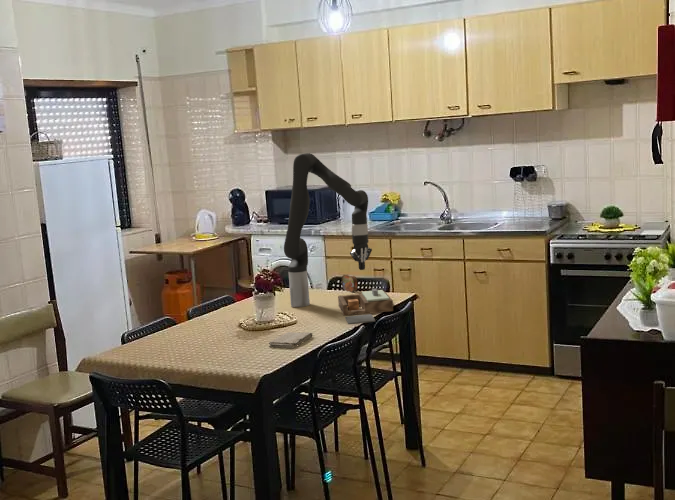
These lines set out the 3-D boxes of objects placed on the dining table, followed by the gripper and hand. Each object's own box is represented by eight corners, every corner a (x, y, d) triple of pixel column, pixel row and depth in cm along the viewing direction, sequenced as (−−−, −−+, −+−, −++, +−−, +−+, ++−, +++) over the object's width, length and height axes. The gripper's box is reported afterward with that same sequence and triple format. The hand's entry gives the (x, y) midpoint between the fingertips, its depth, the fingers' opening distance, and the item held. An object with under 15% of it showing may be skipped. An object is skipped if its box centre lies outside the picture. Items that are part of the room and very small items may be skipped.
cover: (367, 301, 353) (367, 294, 353) (361, 293, 372) (361, 286, 371) (389, 299, 354) (388, 292, 354) (382, 291, 373) (381, 285, 372)
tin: (341, 288, 413) (340, 273, 411) (346, 288, 414) (345, 272, 413) (353, 293, 399) (352, 277, 398) (359, 292, 400) (358, 276, 399)
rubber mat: (348, 324, 336) (348, 322, 336) (345, 317, 347) (345, 316, 347) (375, 321, 337) (375, 320, 337) (371, 315, 349) (371, 314, 349)
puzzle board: (343, 315, 352) (343, 305, 351) (338, 305, 373) (337, 295, 372) (393, 310, 354) (392, 300, 353) (385, 301, 375) (384, 291, 374)
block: (349, 311, 360) (349, 301, 360) (348, 309, 365) (347, 299, 364) (359, 310, 361) (358, 300, 360) (357, 308, 365) (357, 298, 365)
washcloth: (267, 348, 308) (267, 341, 307) (287, 336, 324) (287, 329, 324) (294, 350, 303) (293, 342, 303) (313, 337, 319) (312, 330, 319)
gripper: (364, 230, 366) (366, 266, 369) (344, 234, 357) (346, 271, 360) (375, 231, 361) (377, 268, 363) (355, 235, 352) (357, 272, 355)
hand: (361, 269), depth 362 cm, fingers closed
